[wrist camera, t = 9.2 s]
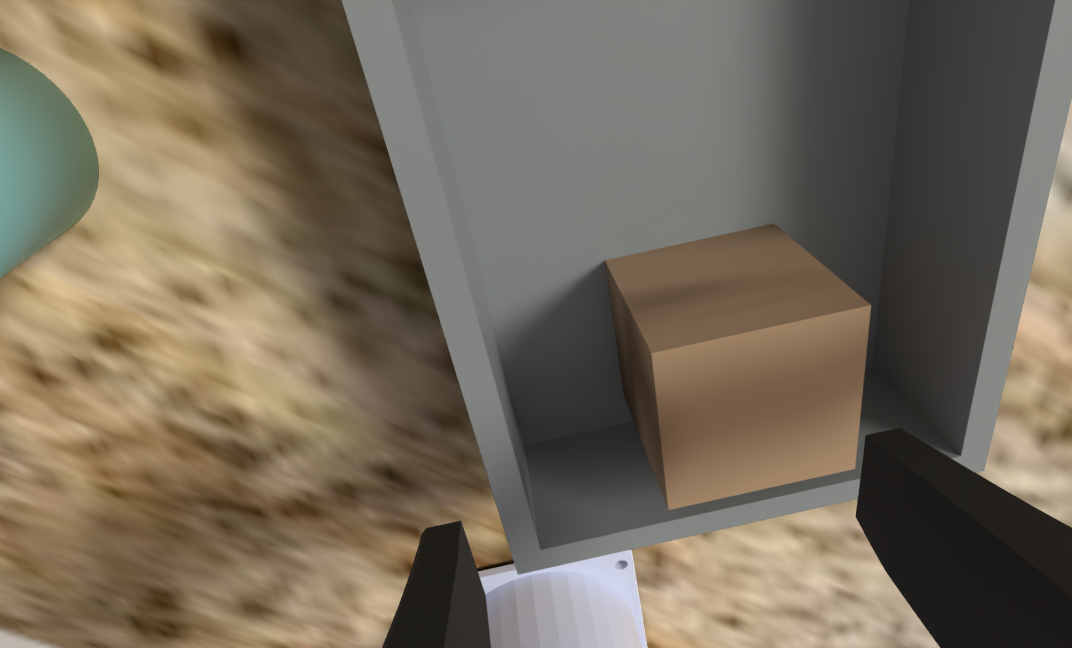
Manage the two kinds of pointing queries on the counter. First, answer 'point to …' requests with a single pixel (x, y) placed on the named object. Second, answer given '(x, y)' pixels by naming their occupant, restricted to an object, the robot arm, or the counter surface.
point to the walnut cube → (739, 363)
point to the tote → (711, 212)
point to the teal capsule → (39, 162)
